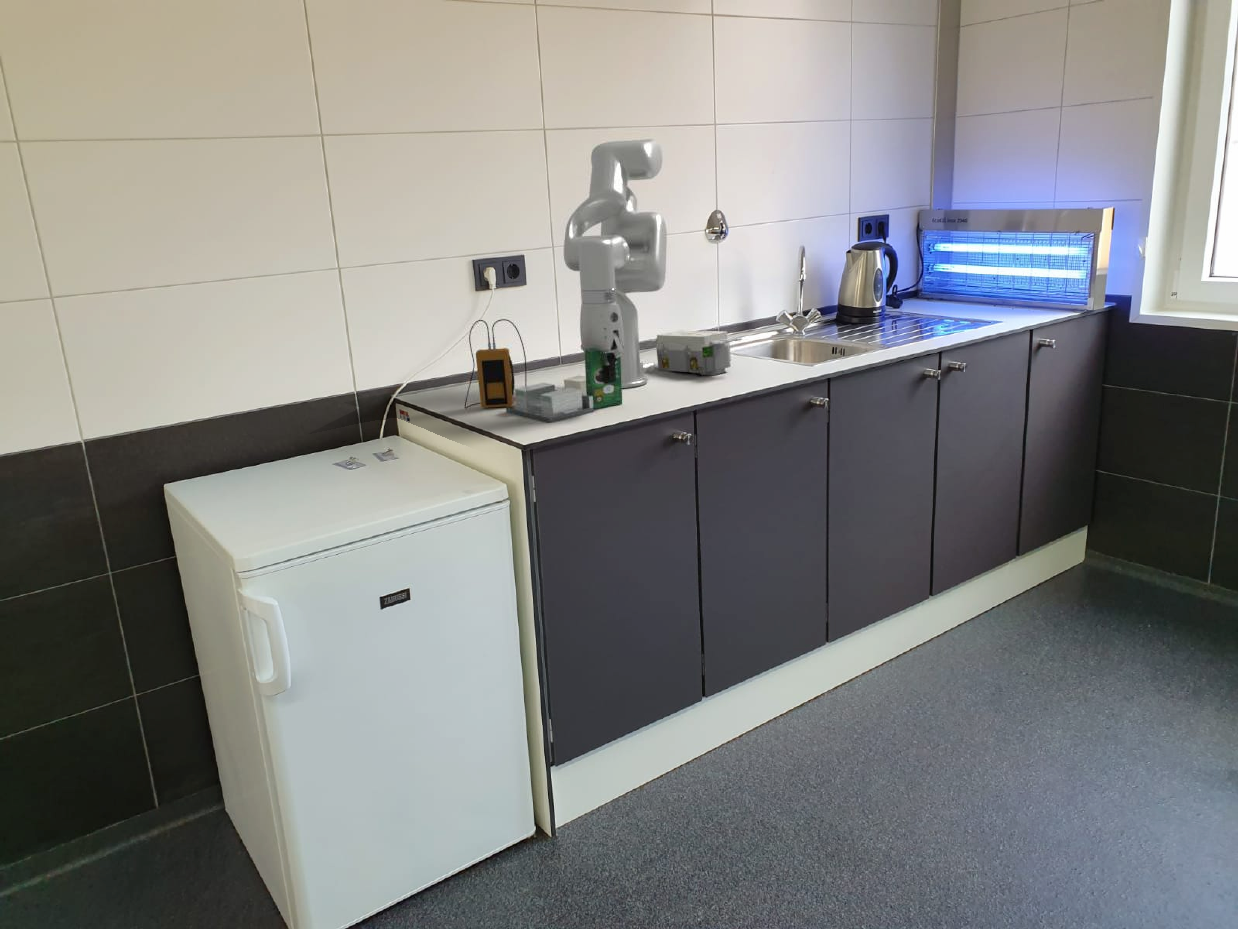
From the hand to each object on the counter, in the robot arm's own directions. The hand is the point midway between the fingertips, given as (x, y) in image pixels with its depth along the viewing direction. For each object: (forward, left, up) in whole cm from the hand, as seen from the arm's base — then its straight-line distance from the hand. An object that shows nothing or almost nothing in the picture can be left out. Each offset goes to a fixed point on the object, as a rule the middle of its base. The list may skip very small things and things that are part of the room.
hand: (603, 380), depth 203 cm
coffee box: (0, 0, -6) cm, 6 cm away
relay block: (-1, -10, -6) cm, 12 cm away
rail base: (+11, -6, -6) cm, 14 cm away
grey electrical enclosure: (-40, -12, -6) cm, 42 cm away
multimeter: (+13, -23, -6) cm, 27 cm away
